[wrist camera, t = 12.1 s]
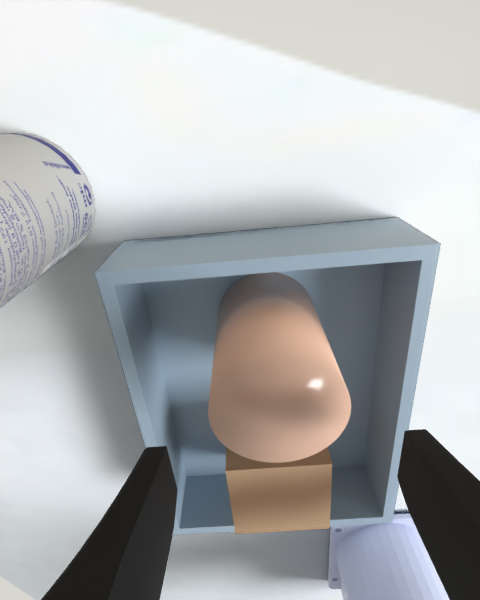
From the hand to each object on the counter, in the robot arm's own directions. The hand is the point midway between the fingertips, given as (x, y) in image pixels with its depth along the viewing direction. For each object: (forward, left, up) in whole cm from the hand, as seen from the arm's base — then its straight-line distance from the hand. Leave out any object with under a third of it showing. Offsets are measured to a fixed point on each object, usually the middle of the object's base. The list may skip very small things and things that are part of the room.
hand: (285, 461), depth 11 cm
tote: (-4, 0, -9) cm, 10 cm away
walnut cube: (-8, 0, -9) cm, 12 cm away
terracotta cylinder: (0, 0, -9) cm, 9 cm away
